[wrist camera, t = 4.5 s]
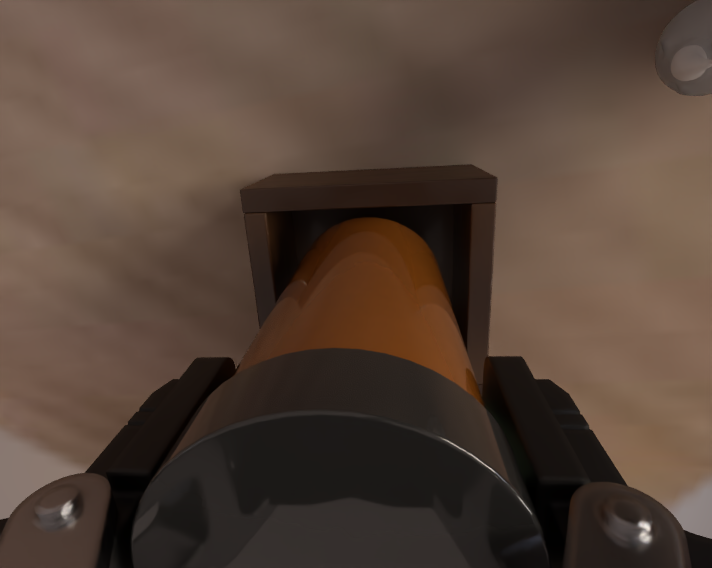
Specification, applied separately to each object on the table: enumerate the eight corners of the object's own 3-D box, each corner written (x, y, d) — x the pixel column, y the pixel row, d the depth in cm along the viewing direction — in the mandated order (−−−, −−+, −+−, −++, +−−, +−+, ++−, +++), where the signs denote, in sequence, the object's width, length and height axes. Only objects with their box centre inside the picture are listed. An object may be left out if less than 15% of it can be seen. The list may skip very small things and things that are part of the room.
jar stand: (273, 174, 19) (239, 189, 15) (472, 164, 18) (498, 177, 14) (307, 471, 24) (289, 545, 20) (462, 472, 24) (478, 549, 19)
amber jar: (285, 213, 15) (79, 410, 5) (449, 208, 15) (581, 412, 5) (300, 355, 17) (172, 702, 7) (445, 354, 17) (532, 723, 7)
